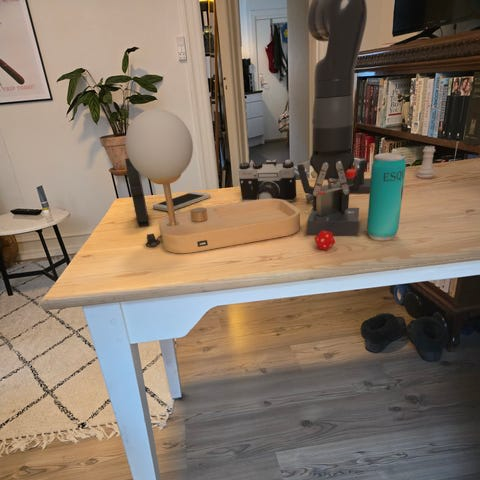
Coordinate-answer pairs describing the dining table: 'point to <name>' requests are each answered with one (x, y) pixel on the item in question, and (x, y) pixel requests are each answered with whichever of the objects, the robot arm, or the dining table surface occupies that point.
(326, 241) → the die
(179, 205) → the smartphone
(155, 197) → the dining table surface
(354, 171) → the button
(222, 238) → the lamp
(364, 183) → the box
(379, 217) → the beverage can
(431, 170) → the rook chess piece
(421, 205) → the dining table surface
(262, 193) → the camera
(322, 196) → the grey rectangular plate
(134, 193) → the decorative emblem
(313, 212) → the dial block
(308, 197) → the elephant figurine
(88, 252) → the dining table surface
